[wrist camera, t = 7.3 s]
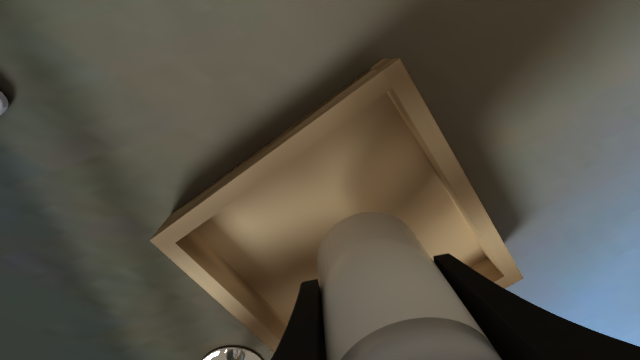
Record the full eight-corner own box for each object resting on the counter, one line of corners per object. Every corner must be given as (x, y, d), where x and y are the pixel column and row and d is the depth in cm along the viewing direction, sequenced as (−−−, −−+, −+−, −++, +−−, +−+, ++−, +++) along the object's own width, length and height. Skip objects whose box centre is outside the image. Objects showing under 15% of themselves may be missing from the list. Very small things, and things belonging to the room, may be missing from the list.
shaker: (310, 220, 13) (321, 369, 7) (417, 204, 13) (532, 337, 7) (324, 305, 15) (344, 496, 8) (419, 291, 15) (515, 468, 8)
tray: (169, 215, 17) (149, 240, 14) (383, 58, 15) (399, 58, 12) (316, 355, 21) (319, 392, 19) (495, 251, 19) (523, 278, 17)
